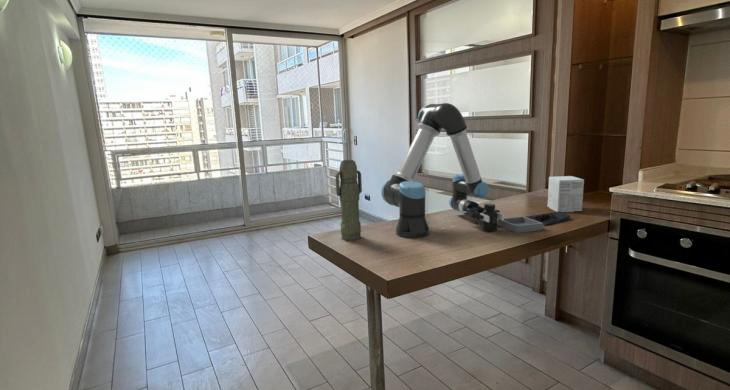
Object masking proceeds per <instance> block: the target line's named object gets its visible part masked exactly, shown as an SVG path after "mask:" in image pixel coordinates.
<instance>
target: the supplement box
mask: <svg viewBox="0 0 730 390" xmlns="http://www.w3.org/2000/svg"><path fill="white" fill-rule="evenodd" d="M584 185H585V179H583V178H580V177H576V176H574V175H573V176H572V175H566V176H565V175H564V176H561V175H560V176H557V175H556V176H548V193H547V208H548V207H549V209H551V211H552V210H553V212H559V211H561V212H563V213H575V212H574V211H583V200H584Z"/></svg>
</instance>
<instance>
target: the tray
mask: <svg viewBox="0 0 730 390" xmlns="http://www.w3.org/2000/svg"><path fill="white" fill-rule="evenodd" d="M497 227H501V228H503V229H506V230H508V231H511V232H513V233H516V234H519V233H527V232H535V231H542V230H543V229H544V225H543V223H541V222H538V221H536V220H533V219H530V218H527V217H525V216H524V215H523V216H515V217H504V220H503V221H502V220H500V219H497Z"/></svg>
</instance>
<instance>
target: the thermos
mask: <svg viewBox="0 0 730 390" xmlns="http://www.w3.org/2000/svg"><path fill="white" fill-rule="evenodd" d="M356 163H357V162H356V161H355V160H353V159H344V160H342V161H340V165H339V171H337V172H336V174H335V188H336V189H335V190H336V191H335V192H336V196H338V197H339V202H340V212H341V213H340V214H341V221H340V234H341V240H343V241H346V242H347V241H349V242H350V241H351V242H352V241H357V240H361V234H362V233H361V232H362V230H361V229H362V223H361V221H360V205H359V201H360V194H361V193H362V192H363V188H362V181H363V180H362V173H361V171H360V170H358V167H357V164H356Z"/></svg>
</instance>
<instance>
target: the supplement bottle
mask: <svg viewBox="0 0 730 390" xmlns="http://www.w3.org/2000/svg"><path fill="white" fill-rule="evenodd" d="M483 208H484V209H485V210H483V211H482V213H483V214H485V215H488V216H489V222H486V221H484V220H481V229H482V231H483V232H496V231H497V230H498V219H497V211H496V210H497V209H496V204H494V203H485V204H484V205H483Z"/></svg>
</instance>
